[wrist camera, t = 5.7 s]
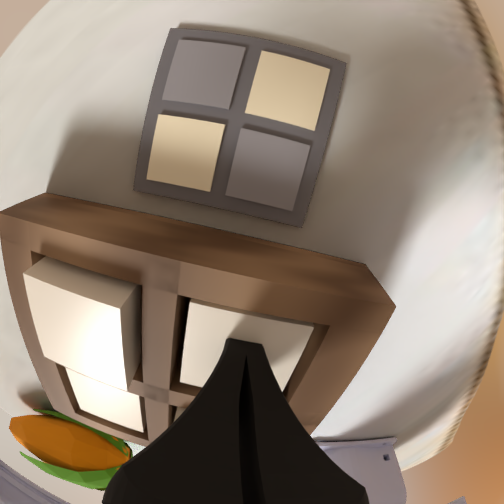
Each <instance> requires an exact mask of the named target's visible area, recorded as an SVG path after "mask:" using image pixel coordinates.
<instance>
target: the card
mask: <svg viewBox="0 0 504 504" xmlns="http://www.w3.org/2000/svg"><path fill="white" fill-rule="evenodd" d="M345 67H346V63H345V62H342V61H339V60H337V59H334V58H331V57H328V56H325V55H322V54H319V53H316V52H312V51H309V50H306V49H302V48H299V47H295V46H291V45H287V44H283V43H279V42H275V41H270V40H266V39H261V38H256V37H250V36H245V35H238V34H232V33H225V32H216V31H207V30H195V29H177V28H170V31H169V34H168V37H167V40H166V43H165V46H164V49H163V52H162V55H161V59H160V62H159V65H158V69H157V73H156V76H155V80H154V84H153V87H152V91H151V95H150V100H149V104H148V108H147V113H146V117H145V122H144V127H143V132H142V137H141V143H140V148H139V154H138V161H137V167H136V174H135V181H134V189H133V190H134V191H139V192H144V193H149V194H154V195H159V196H164V197H169V198H174V199H179V200H184V201H188V202H193V203H198V204H202V205H207V206H212V207H216V208H221V209H225V210H229V211H234V212H238V213H243V214H247V215H251V216H255V217H260V218H264V219H268V220H272V221H276V222H280V223H284V224H288V225H292V226H296V227H300V228H302V226H303V223H304V219H305V216H306V213H307V209H308V206H309V203H310V199H311V196H312V193H313V189H314V186H315V182H316V179H317V175H318V172H319V168H320V165H321V161H322V158H323V154H324V150H325V147H326V143H327V139H328V136H329V132H330V128H331V124H332V120H333V116H334V113H335V109H336V105H337V101H338V97H339V93H340V88H341V84H342V80H343V76H344V72H345Z"/></svg>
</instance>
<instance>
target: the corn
mask: <svg viewBox="0 0 504 504" xmlns="http://www.w3.org/2000/svg"><path fill="white" fill-rule="evenodd" d="M33 410H34V411H38V412H42V413H47V414H51V415H54V416H57V417H54V416H49V415H26V416H20V417H13V418H11V422H10V426H9V429H10V430H11V432H12V434H13V435H14V437H15V438H16V440H17V441H18V442H19V443H20V444H22V445H23V446H24V447H25V448H26V449H28V450H29V451H30V452H31V453H33V454H34V455H35V456H37V457H38V458H39V459H41V460H42V461H43V462H41V461H38V460H36V459H34V458H31V457H29V456H27V455H25V454H24V453H22V452H20V453H21V455H22V456H24V457H25V458H26V459H28V460H29V461H30V462H32V463H33V464H35V465H36V466H38V467H39V468H40V469H42V470H43V471H45V472H46V473H49V474H51V475H53V476H56V477H58V478H61V479H63V480H66V481H69V482H72V483H75V484H78V485H81V486H84V487H87V488H91V489H97V490H101V491H102V490H103V491H104V490H106V487H107V485H108V483H109V481H110V480H111V478H112V477H113V476H114V474H115V473H116V472H117V471H118V469H119V468H120V467H121V466H122V464H124V463H125V462H126V461H128V460H129V459H131V458H132V457H133V454H132V449H131V448H130V447H129V446H128V444H127V443H125V442H124V441H123V440H122V439H121V438H118V437H115V436H113V435H110V434H107V433H105V432H102V431H100V430H97V429H95V428H93V427H90V426H88V425H86V424H83V423H81V422H79V421H77V420H75V419H73V418H70V417H68V416H66V415H64V414H62V413H59V412H55V411H48V410H40V409H33ZM59 417H60V418H59ZM44 462H45V463H44Z"/></svg>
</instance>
